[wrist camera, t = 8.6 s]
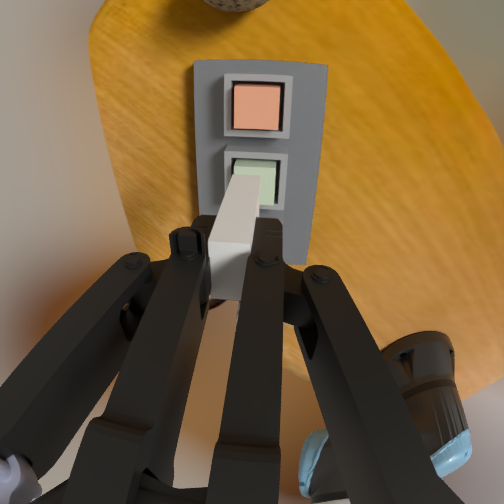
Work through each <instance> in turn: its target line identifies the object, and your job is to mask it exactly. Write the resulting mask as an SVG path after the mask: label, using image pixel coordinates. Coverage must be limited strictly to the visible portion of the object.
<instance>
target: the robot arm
mask: <svg viewBox="0 0 504 504" xmlns="http://www.w3.org/2000/svg"><path fill="white" fill-rule="evenodd" d="M260 186H261V176H254V175H236V174H233V175H232V177H231V180H230V183H229V185H228V188H227V191H226V193H225V196H224V199H223V201H222V204H221V207H220V209H219V212H218V215H200V216H198V217H197V218H196V219H194V221H193V223H192V225H191V227H181V228H177V229H175V230H173V231H172V232H171V233H170V234H169V240H170V248H171V255H170V257H169V259H166V260H161V261H153V262H150V258H149V256H148V255H147V254H144V253H141V252H134V253H129V254H126V255H124V256H123V257H121V258H120V259H119V260H118V261H117V262H116V263H115V264H113V265H112V266H111V268H109V269H108V270H107V271H106V272H105V273H104V274H103V275H102V276H101V277H100V278H99V279H98V280H97V281H96V282H95V283H94V284H93V285H92V286H91V287H90V288H89V289H88V290H87V291H86V292H85V293H84V294H83V295H82V296H81V297H80V298H79V299H78V300H77V301H76V302H75V303H74V304H73V305H72V306H71V308H70V309H69V310H68V311H67V312H66V313H65V314H64V315H63V316H62V317H61V318H60V319H59V320H58V321H57V323H55V325H54V326H53V327H52V328H51V329H50V330H49V331H48V332H47V333H46V334H45V335H44V337H43V338H42V339H41V340H40V341H39V342H38V343H37V344H36V346H35V347H34V348H33V349H32V350H31V351H30V352H29V354H28V355H27V356H26V357H25V358H24V359H23V361H22V362H21V363H20V364H19V365H18V366H17V368H16V369H15V370H14V371H13V372H12V373H11V375H10V376H9V377H8V379H7V380H6V381H5V382H4V383H3V384H2V386H1V387H0V504H278V497H279V481H280V462H281V461H280V460H281V453H280V452H281V451H280V446H279V434H280V412H281V385H282V384H281V383H282V351H283V322H285V323H288V324H291V325H294V331H295V334H296V337H297V340H298V343H299V346H300V349H301V352H302V355H303V358H304V361H305V364H306V367H307V370H308V373H309V376H310V379H311V382H312V385H313V388H314V391H315V394H316V397H317V400H318V403H319V407H320V410H321V413H322V416H323V419H324V422H325V425H326V428H327V429H322V430H317V431H314V432H312V433H311V434H310V435H309V436H308V437H307V439H306V441H305V443H304V445H303V449H302V452H301V457H300V464H299V481H300V483H299V488H300V492H301V494H302V495H303V496H304V497H307V498H311V504H464V502H463V501H461V499H460V498H459V497H458V496H457V495H456V494H455V493H454V492H453V491H452V490H451V489H450V488H449V487H448V485H447V484H445V482H444V481H443V480H442V479H441V478H442V477H444V476H445V475H447V474H449V473H451V472H453V471H454V470H456V469H458V468H459V467H460V466H462V465H463V464H464V463H465V462H466V461H467V460H468V459H469V458H470V456H471V454H472V443H471V438H470V429H469V428H468V424H467V421H466V417H465V413H464V410H463V407H462V403H461V400H460V397H459V394H458V390H457V387H456V384H455V380H454V366H455V364H454V348H453V346H452V343H451V341H450V339H449V337H448V336H447V335H445V334H444V333H441V332H436V331H427V332H420V333H416V334H413V335H410V336H407V337H405V338H402V339H400V340H398V341H397V342H395V343H393V344H392V345H390V346H389V347H388V348H386V349H385V350H384V351H383V352H382V353H381V352H380V350H379V348H378V346H377V344H376V342H375V340H374V338H373V337H372V335H371V333H370V331H369V329H368V327H367V325H366V323H365V321H364V320H363V318H362V316H361V314H360V312H359V310H358V309H357V307H356V305H355V303H354V301H353V299H352V298H351V296H350V294H349V292H348V290H347V289H346V287H345V285H344V283H343V281H342V280H341V278H340V276H339V274H338V273H337V272H336V271H335V270H333V269H332V268H330V267H327V266H324V265H313V266H309V267H307V268H306V269H305V270H304V272H302V271H299V270H296V269H293V268H291V267H290V266H288V265H287V264H286V263H285V262H284V260H283V225H282V223H281V222H280V221H279V219H276V218H262V217H259V206H260ZM210 291H211V298H213V299H224V300H236V301H240V307H239V314H238V320H237V326H236V332H235V339H234V345H233V351H232V357H231V364H230V370H229V376H228V383H227V390H226V395H225V402H224V408H223V414H222V420H221V427H220V434H219V438H218V441H217V443H216V445H215V449H214V454H213V459H212V465H211V471H210V477H209V484H208V487H203V488H186V489H177V488H173V487H172V486H173V480H174V456H175V451H176V447H177V442H178V438H179V433H180V428H181V424H182V420H183V415H184V411H185V406H186V402H187V398H188V393H189V389H190V384H191V380H192V376H193V372H194V367H195V363H196V359H197V355H198V351H199V346H200V343H201V338H202V334H203V330H204V326H205V322H206V318H207V314H208V310H209V294H210ZM126 303H127V305H126V306H125V304H126ZM124 306H125V307H124ZM123 307H124V308H123ZM122 308H123V309H122ZM119 371H120V372H119ZM118 372H119V374H118ZM117 374H118V377H117V379H116V382H115V384H114V387H113V390H112V392H111V395H110V398H109V400H108V403H107V406H106V409H105V411H104V413H103V414H102V415H101V416H100V417H95V418H93V419H92V420H91V421H90V422H89V424H88V426H87V428H86V430H85V433H84V436H83V438H82V441H81V444H80V447H79V450H78V453H77V456H76V459H75V462H74V465H73V468H72V471H71V474H70V477H69V479H67V480H66V481H64V482H63V483H61V484H59V485H58V486H56V487H55V488H53V489H52V490H50V491H48V492H47V493H45V494H43V495H42V496H41V494H42V488H41V486H40V484H39V483H38V480H39V479H40V478H41V477H42V476H44V475H45V474H46V473H47V472H48V471H49V470H50V469H51V468H52V467H53V466H54V464H55V463H56V462H57V460H58V459H59V458H60V456H61V455H62V453H63V452H64V450H65V449H66V447H67V446H68V444H69V443H70V441H71V440H72V439H73V437H74V435H75V434H76V433H77V431H78V430H79V428H80V427H81V425H82V423H83V422H84V421H85V419H86V418H87V416H88V415H89V413H90V412H91V411H92V409H93V408H94V406H95V405H96V403H97V402H98V401H99V399H100V398H101V396H102V395H103V393H104V392H105V391H106V389H107V388H108V386H109V385H110V383H111V382H112V381H113V379H114V378H115V376H116V375H117ZM33 498H37V499H35V500H34V501H32V499H33ZM31 501H32V502H31Z"/></svg>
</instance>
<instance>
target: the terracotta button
mask: <svg viewBox="0 0 504 504" xmlns="http://www.w3.org/2000/svg"><path fill="white" fill-rule="evenodd" d="M279 103H280V85H277V84H254V83H238V84H237V85H235V86H234V128H242V129H267V130H278V123H279Z"/></svg>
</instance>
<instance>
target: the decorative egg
mask: <svg viewBox="0 0 504 504" xmlns="http://www.w3.org/2000/svg"><path fill="white" fill-rule="evenodd" d="M203 1H204V2H206V3H207V4H208V5H210V6H212V7H214V8H217V9H219V10H223V11H228V12H244V11H249V10H253V9H255V8H258V7H260V6H262V5H263V4H265V3H266V2H268V1H269V0H203Z"/></svg>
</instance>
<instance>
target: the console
mask: <svg viewBox="0 0 504 504" xmlns="http://www.w3.org/2000/svg"><path fill="white" fill-rule="evenodd" d="M327 76H328V65H322V64H313V63H302V62H289V61H273V60H198V61H194V111H195V141H196V164H197V183H198V200H199V215H218V212H219V209H220V207H221V204H222V201H223V199H224V196H225V193H226V191H227V188H228V185H229V183H230V180H231V177H232V175H233V174H234V165H235V162H236V159H237V158H252V159H272V160H276V177H275V194H274V206H273V205H260V206H259V217H262V218H276V219H279V221H280V222H281V223H282V225H283V260H284V262H285V263H286V264H296V265H306V260H307V254H308V247H309V240H310V233H311V226H312V219H313V211H314V204H315V196H316V188H317V179H318V171H319V162H320V153H321V144H322V134H323V123H324V113H325V101H326V89H327ZM238 83H254V84H277V85H280V103H279V123H278V130H267V129H242V128H234V86H235V85H237V84H238Z"/></svg>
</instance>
